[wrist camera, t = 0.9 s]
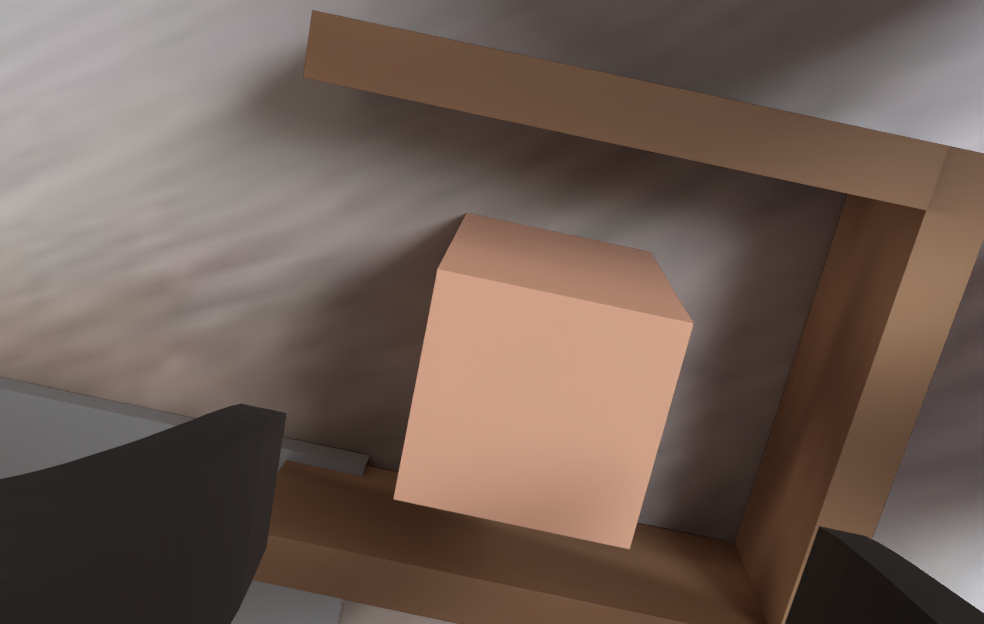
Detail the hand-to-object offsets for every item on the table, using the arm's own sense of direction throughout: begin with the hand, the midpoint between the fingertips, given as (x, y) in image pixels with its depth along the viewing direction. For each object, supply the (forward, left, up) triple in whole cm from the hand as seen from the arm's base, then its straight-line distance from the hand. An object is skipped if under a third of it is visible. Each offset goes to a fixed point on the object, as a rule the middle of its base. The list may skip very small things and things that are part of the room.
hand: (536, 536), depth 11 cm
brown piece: (0, -1, -10) cm, 10 cm away
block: (0, 0, -10) cm, 10 cm away
